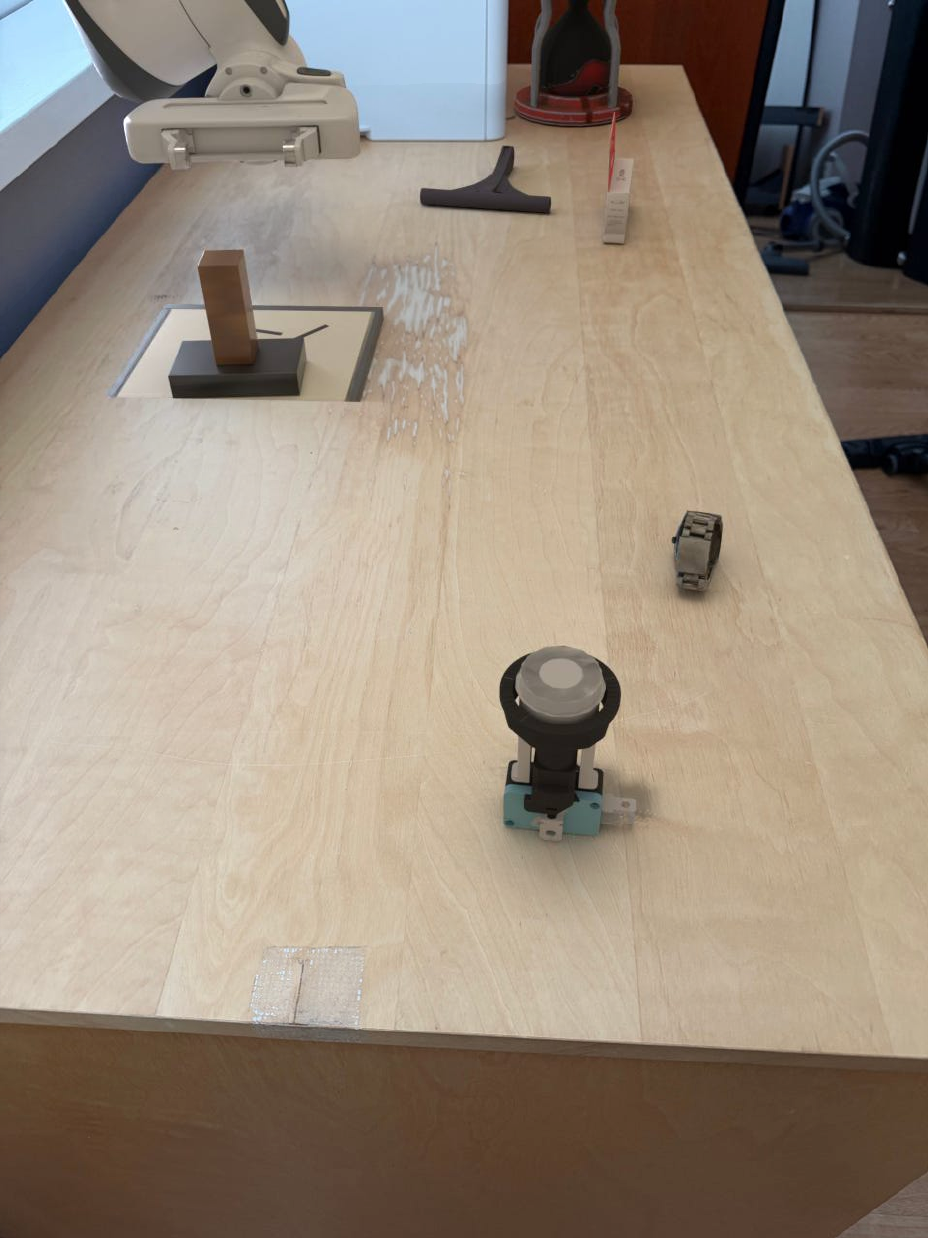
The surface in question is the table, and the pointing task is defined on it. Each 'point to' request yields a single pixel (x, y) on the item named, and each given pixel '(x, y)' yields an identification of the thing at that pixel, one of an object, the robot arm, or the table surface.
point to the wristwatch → (697, 549)
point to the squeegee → (490, 191)
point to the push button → (559, 742)
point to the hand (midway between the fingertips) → (235, 158)
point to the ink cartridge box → (617, 194)
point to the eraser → (234, 342)
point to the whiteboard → (329, 333)
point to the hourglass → (575, 69)
